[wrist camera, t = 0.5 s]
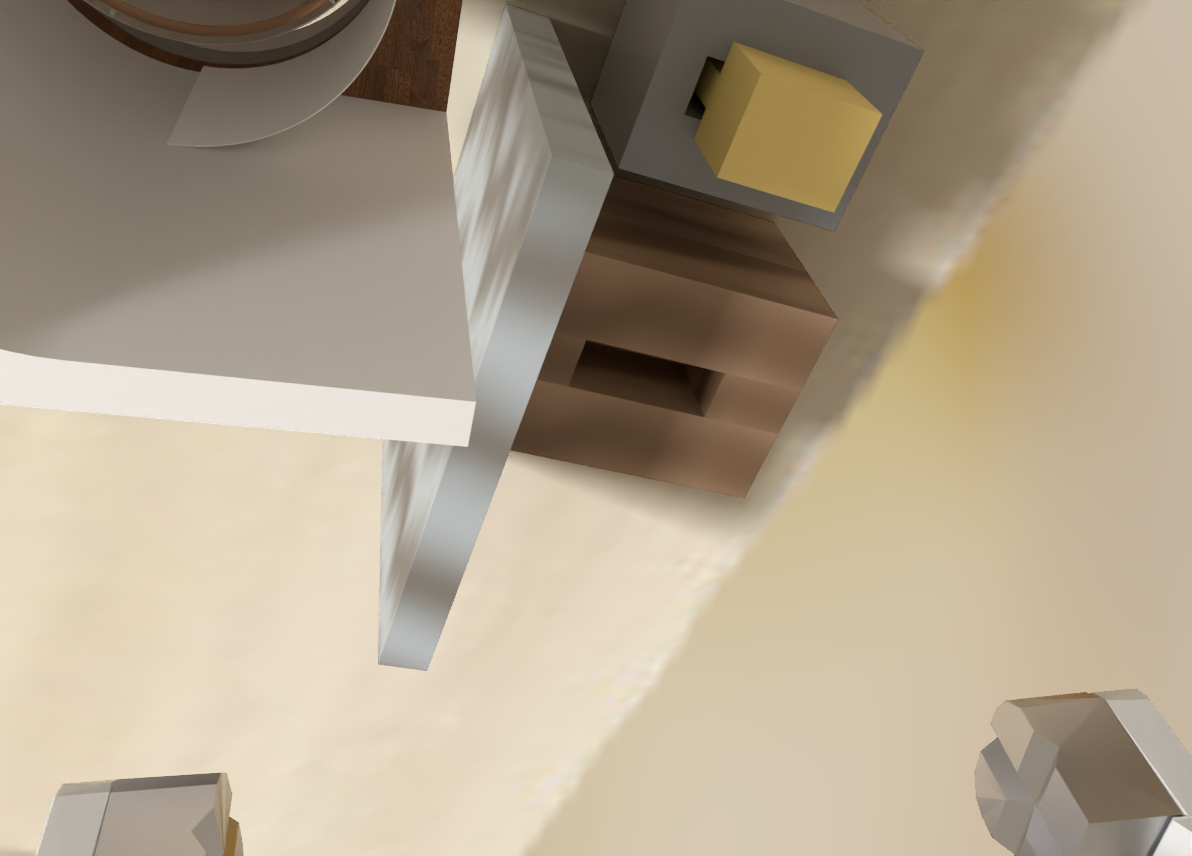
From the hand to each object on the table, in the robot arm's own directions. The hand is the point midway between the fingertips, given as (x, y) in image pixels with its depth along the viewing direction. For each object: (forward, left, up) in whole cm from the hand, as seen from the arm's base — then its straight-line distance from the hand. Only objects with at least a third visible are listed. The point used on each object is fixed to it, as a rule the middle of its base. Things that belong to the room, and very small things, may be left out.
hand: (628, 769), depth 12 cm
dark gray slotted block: (+1, +13, -42) cm, 44 cm away
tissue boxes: (+13, +12, -42) cm, 46 cm away
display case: (-3, -7, -43) cm, 43 cm away
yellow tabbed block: (+1, +13, -38) cm, 41 cm away
